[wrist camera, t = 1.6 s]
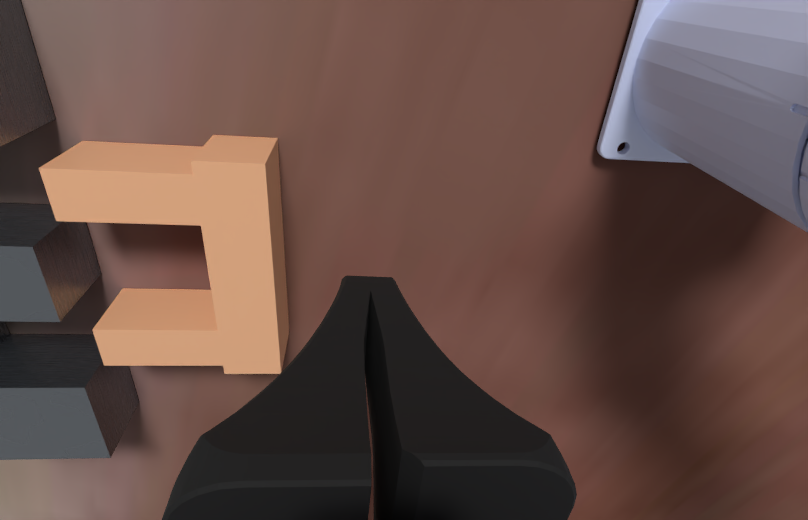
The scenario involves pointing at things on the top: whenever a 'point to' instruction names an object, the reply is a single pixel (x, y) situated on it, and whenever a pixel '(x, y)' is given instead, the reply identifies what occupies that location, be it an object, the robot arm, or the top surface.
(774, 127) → the robot arm
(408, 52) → the top surface
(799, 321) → the top surface
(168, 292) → the clip
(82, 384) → the grey hollow block
